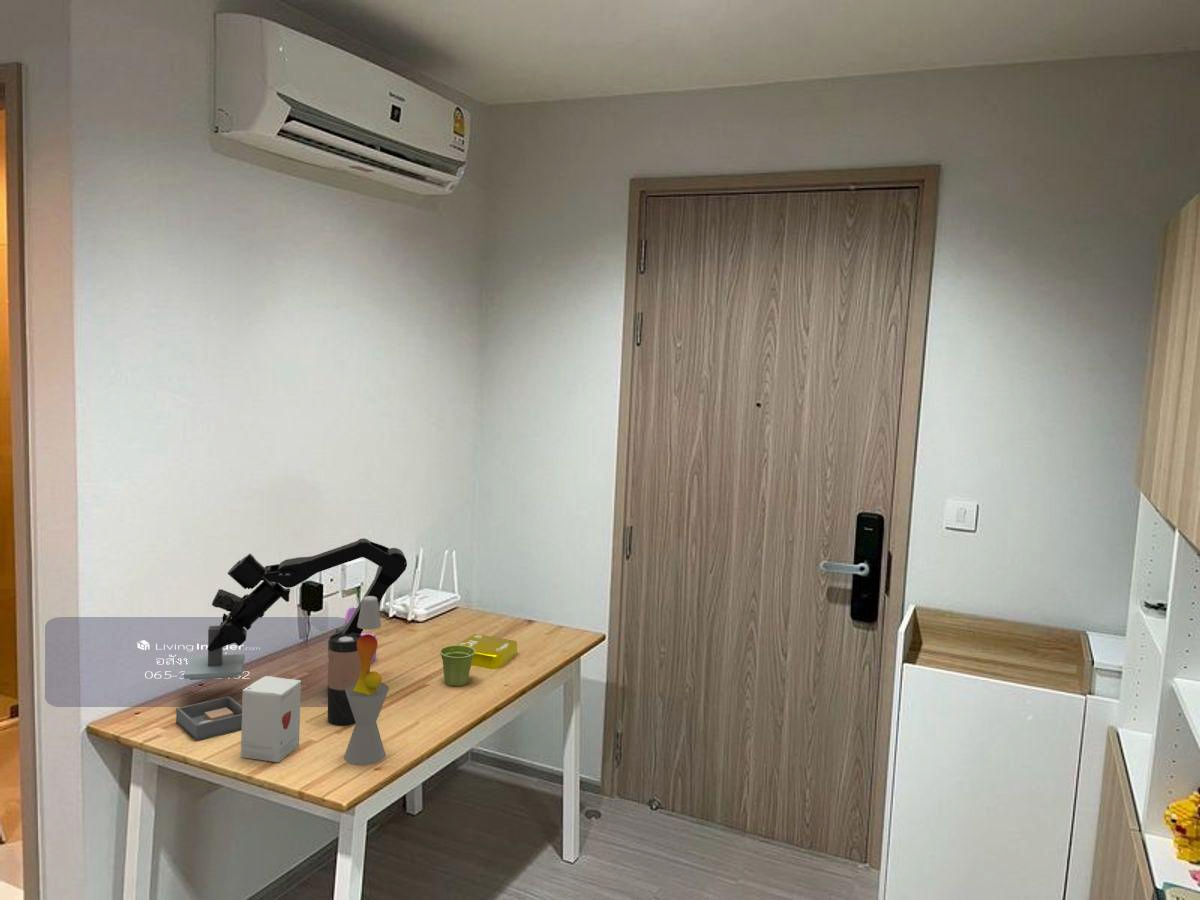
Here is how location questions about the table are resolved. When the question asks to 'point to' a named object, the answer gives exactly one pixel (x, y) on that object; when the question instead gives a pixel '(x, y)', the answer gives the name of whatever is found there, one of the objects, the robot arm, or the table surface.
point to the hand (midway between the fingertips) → (209, 647)
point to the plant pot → (457, 663)
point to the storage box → (210, 718)
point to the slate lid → (214, 662)
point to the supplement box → (270, 718)
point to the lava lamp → (366, 693)
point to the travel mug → (342, 676)
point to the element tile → (491, 650)
